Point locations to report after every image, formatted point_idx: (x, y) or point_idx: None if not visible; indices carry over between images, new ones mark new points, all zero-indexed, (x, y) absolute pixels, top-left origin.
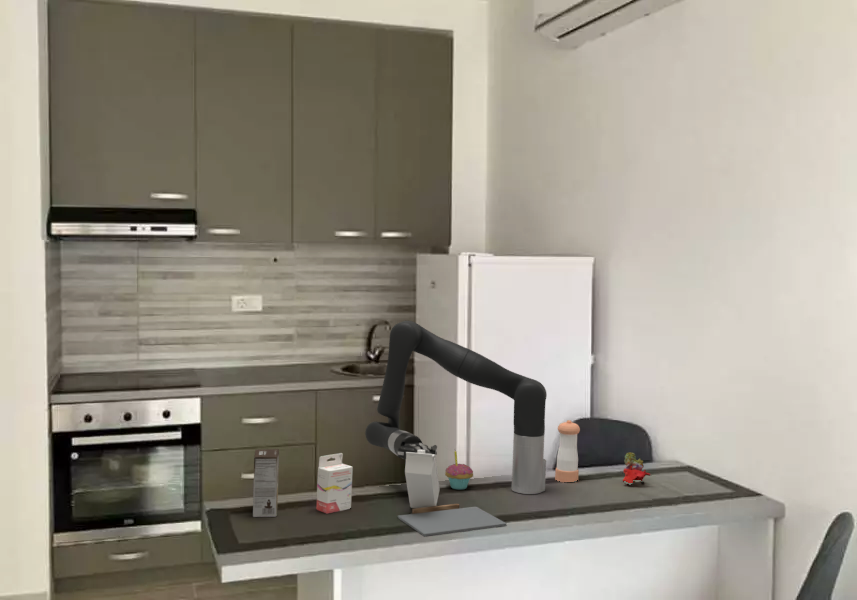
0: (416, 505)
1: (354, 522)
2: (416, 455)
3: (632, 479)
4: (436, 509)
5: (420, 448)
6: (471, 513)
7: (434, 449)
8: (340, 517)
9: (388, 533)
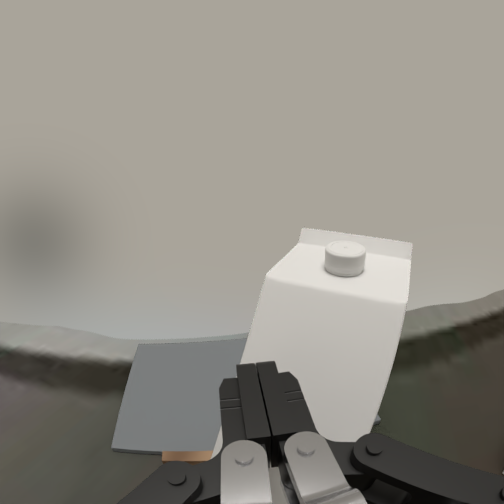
0: None
1: (467, 389)
2: (366, 250)
3: None
4: None
5: (306, 502)
6: (163, 407)
7: (139, 489)
8: (501, 410)
9: None
